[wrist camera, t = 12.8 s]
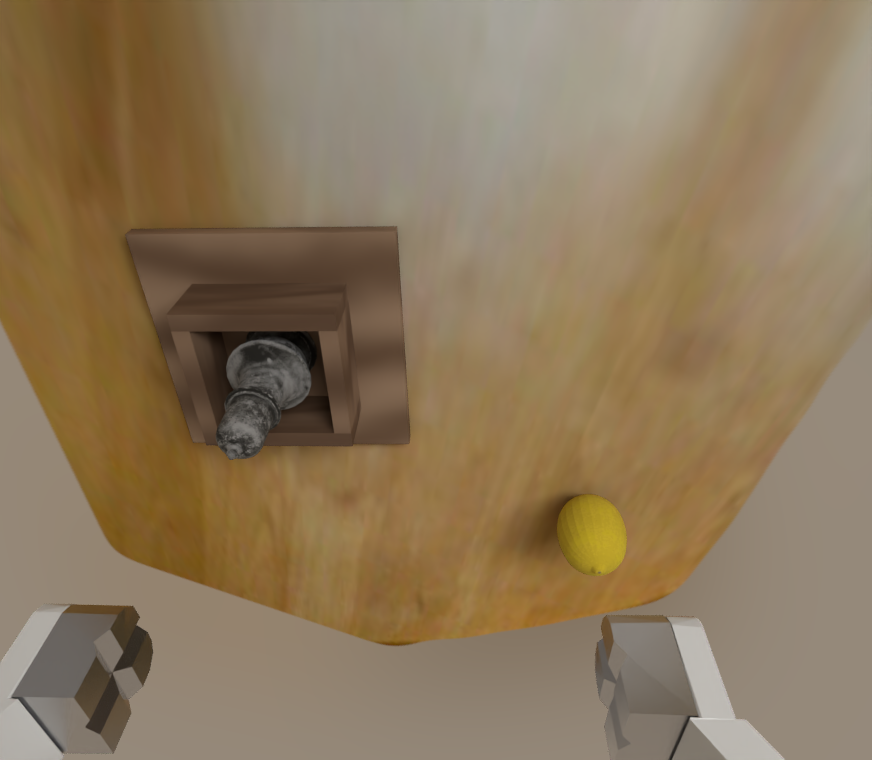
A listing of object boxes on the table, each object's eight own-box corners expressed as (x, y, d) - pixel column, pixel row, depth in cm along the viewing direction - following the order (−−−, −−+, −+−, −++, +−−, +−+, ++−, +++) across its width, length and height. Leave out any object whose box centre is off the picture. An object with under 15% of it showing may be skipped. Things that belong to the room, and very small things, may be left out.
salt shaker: (290, 395, 47) (244, 509, 38) (226, 349, 45) (159, 458, 35) (337, 349, 45) (301, 459, 35) (271, 299, 43) (213, 401, 33)
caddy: (131, 229, 41) (90, 262, 37) (396, 226, 40) (388, 260, 36) (197, 434, 51) (171, 480, 47) (410, 436, 51) (404, 482, 46)
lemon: (574, 466, 52) (590, 540, 45) (628, 488, 53) (651, 563, 46) (539, 507, 55) (550, 581, 48) (591, 527, 56) (608, 602, 49)
